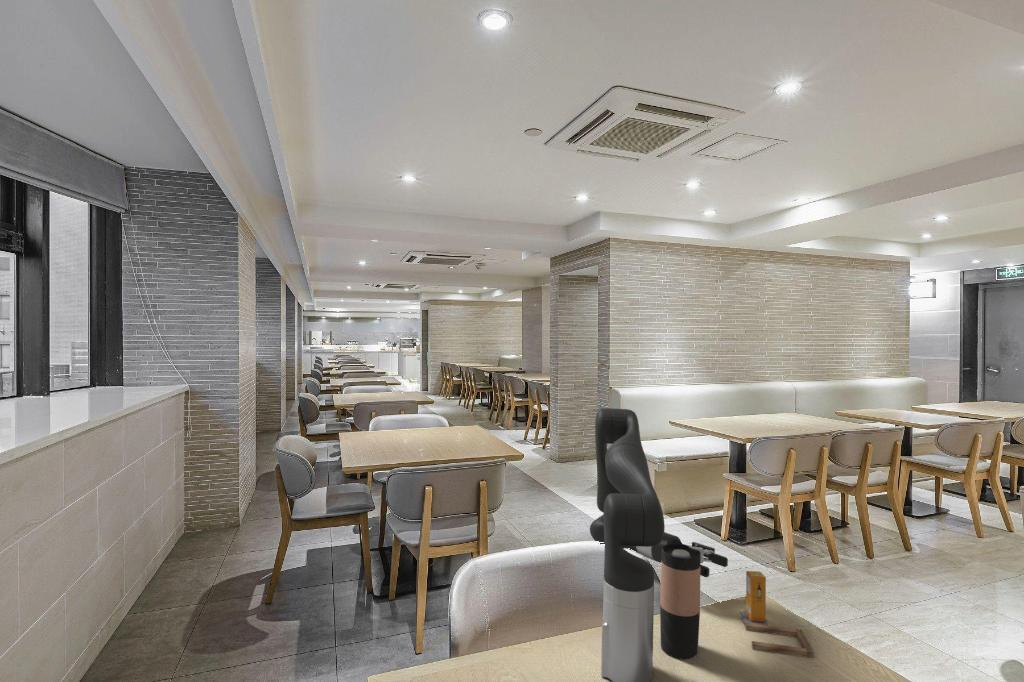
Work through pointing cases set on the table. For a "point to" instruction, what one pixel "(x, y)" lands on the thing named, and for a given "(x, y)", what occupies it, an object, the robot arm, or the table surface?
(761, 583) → the supplement box
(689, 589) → the travel mug
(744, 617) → the coaster
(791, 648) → the wooden u-shaped frame
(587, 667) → the table surface
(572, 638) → the table surface
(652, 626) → the robot arm
